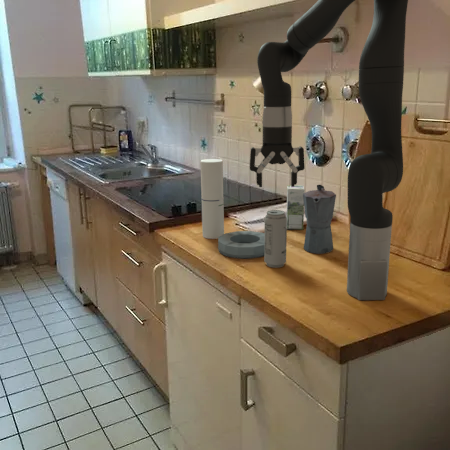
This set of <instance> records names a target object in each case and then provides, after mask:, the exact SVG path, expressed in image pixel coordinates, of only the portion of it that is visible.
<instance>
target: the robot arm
mask: <svg viewBox="0 0 450 450" xmlns="http://www.w3.org/2000/svg"><path fill="white" fill-rule="evenodd" d="M355 1H356V0H317V1H316V2H315V3H314V4H313V5H312V6H311V7H310V8H309V9H308V10H307V11H306V12H304V14H303V15H301V16H300V17H299V18H298V19H297V20H296V21H294V23H292V25H290V26H289V28H288V30H287V32H286V40H284V42H279V41H277V42H276V41H267V42H265V43H264V44H262V45H261V47H260V48H259V51H258V53H257V59H256V60H257V61H256V62H257V69H258V73H259V77H260V81H261V85H262V89H263V111H262V120H261V124H262V145H261V147H254V146H252V147H250V155H249V156H250V157H249V171H251V172H253V173H254V172H255V173H256V186H258V187H259V188H263V170H264V169H265V168H266V167H267V166H268V164H270V165H284V164H285V163H286V164H287V165H288V167H289V168H290V170H291V172H290V186H291V187H294V186H297V183H298V173H299V172H301V171H304V170H305V149H304V147H303V146H301V145H300V146H297V147H293V144H292V142H293V141H292V140H293V139H292V137H293V136H292V135H293V111H292V86H291V84H289V83H288V82H285V81H284V79H283V76H282V73H287V72H289V71H292V70H294V69H295V68H296V67H297V66H298V65H299V64H300V63H301V62H302V60H304V57H306V55H307V53H308V52H309V51H310V50H311V49H312V48H313V47H315V46H316V45H317V44H318V43H320V42H321V41H323V39H325V38H326V36H328V34H329V33H331V31H333V29H334V28H335V26H336V24H337V22H338V21H339V19H340V17H341V16H342V14H343V13H344V12H345V10H346V9H347V8H348V7H350V5H351V4H353V3H354V2H355ZM408 3H409V0H373V15H372V16H373V18H372V23H371V28H370V30H369V33H368V35H367V38H366V40H365V43H364V46H363V48H362V51H361V54H360V58H359V63H358V95H359V99H360V102H361V104H362V107H363V110H364V112H365V114H366V116H367V119H368V121H369V125H370V129H371V152H370V153H366V154H361V155H358V156H357V157H355V158H354V159H353V160H352V161H351V163H350V165H349V167H348V172H347V209H348V213H349V215H350V220H349V221H350V222H349V223H350V224H349V239H348V240H349V242H348V257H347V259H348V260H347V280H346V292H347V294H348V295H349V296H351V297H353V298H355V299H357V300H358V301H385V300H386V297H387V295H388V294H387V293H388V282H389V267H390V256H391V255H390V254H391V239H392V231H393V230H392V228H393V215H394V214H393V213H392V211H391V210H389V209H387V208H385V207H384V206H383V204H384V203H383V195H384V194H385V193H388V192H392V191H394V190H395V189H396V188H398V187H399V185H400V184H401V182H402V180H403V175H404V155H403V154H404V153H403V139H402V137H403V136H402V122H403V121H402V120H403V119H402V118H403V117H402V114H403V91H404V78H405V77H404V74H405V47H406V45H405V44H406V23H407V21H406V19H407V11H408ZM260 153H261V155H262V157H263V159H262V160H261V161H260V163H259V164H258V166H257V165H256V157H258V156H259V154H260ZM293 153H295V155H296V156H297V157H298V165H296V166H295V164H294V163H293V162H292V160H291V159H290V157H291V156H292V155H293Z"/></svg>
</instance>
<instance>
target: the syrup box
mask: <svg viewBox="0 0 450 450" xmlns="http://www.w3.org/2000/svg"><path fill="white" fill-rule="evenodd" d="M286 188H287V189H286V217H287V230H304V222H305V221H304V219H305V217H304V216H305V208H304V200H303V193H306V191H305V190H306V189H305V187H304V185H294V187H291V185H287V187H286Z"/></svg>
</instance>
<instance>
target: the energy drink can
mask: <svg viewBox="0 0 450 450" xmlns="http://www.w3.org/2000/svg"><path fill="white" fill-rule="evenodd" d="M287 231H288V229H287V215H286V213H285V211H284V210H279V209H272V210H271V209H270V210H268V211H267V210H266V215H265V216H264V233H265V237H264V256H263V257H264V261H263V262H264V263H265V264H266V266H267V267H269V268H274V269H275V268H276V269H277V268H282V267H284V266H285V264H286V263H287V239H288V238H287V235H288V232H287Z"/></svg>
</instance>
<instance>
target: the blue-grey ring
mask: <svg viewBox="0 0 450 450" xmlns="http://www.w3.org/2000/svg"><path fill="white" fill-rule="evenodd" d="M264 237H265V232H259V231H254V230H237V231H231V232H224V234H223V235H221V236H219V237H218V239H217V240H218V241H217V249H218V253H219V254H220V255H222V256H225V257H228V258H232V259H238V260H239V259H240V260H241V259H242V260H243V259H244V260H247V259H258V258H261V257H264Z"/></svg>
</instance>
